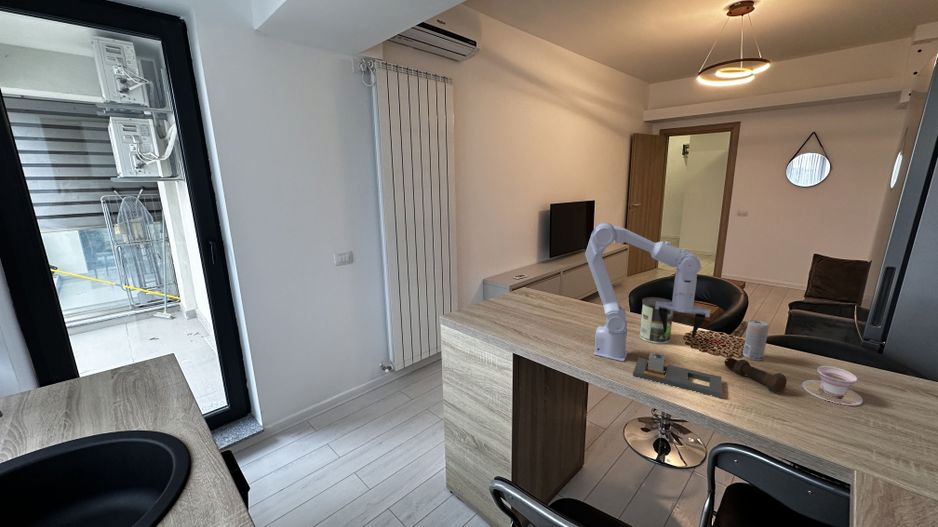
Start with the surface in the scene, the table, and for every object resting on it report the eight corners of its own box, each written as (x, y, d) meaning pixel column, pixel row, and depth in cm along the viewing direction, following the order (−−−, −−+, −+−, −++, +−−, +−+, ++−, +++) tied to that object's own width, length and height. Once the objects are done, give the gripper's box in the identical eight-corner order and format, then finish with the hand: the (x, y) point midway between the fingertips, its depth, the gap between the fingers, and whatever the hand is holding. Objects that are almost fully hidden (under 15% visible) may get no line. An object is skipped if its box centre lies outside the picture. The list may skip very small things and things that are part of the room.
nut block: (646, 375, 111) (648, 357, 110) (648, 369, 114) (650, 351, 113) (661, 379, 109) (664, 360, 108) (663, 373, 112) (665, 354, 111)
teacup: (869, 412, 93) (875, 390, 92) (806, 398, 99) (811, 377, 98) (854, 389, 103) (859, 369, 101) (797, 377, 109) (801, 358, 108)
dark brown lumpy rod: (727, 372, 116) (780, 396, 102) (718, 367, 114) (770, 391, 100) (736, 355, 116) (790, 378, 102) (727, 350, 114) (780, 372, 100)
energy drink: (760, 355, 122) (766, 321, 120) (765, 362, 118) (771, 327, 115) (740, 352, 125) (746, 318, 122) (744, 359, 120) (750, 324, 117)
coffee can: (674, 338, 136) (679, 301, 133) (663, 346, 129) (667, 308, 126) (646, 329, 143) (649, 295, 140) (633, 337, 137) (637, 301, 134)
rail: (632, 376, 111) (633, 371, 110) (638, 362, 119) (638, 357, 119) (721, 398, 99) (722, 392, 99) (720, 381, 107) (721, 376, 107)
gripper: (655, 292, 113) (651, 333, 116) (712, 300, 106) (706, 344, 109) (658, 286, 119) (654, 325, 122) (712, 293, 111) (706, 335, 115)
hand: (678, 333), depth 116 cm, fingers open, 7 cm apart
